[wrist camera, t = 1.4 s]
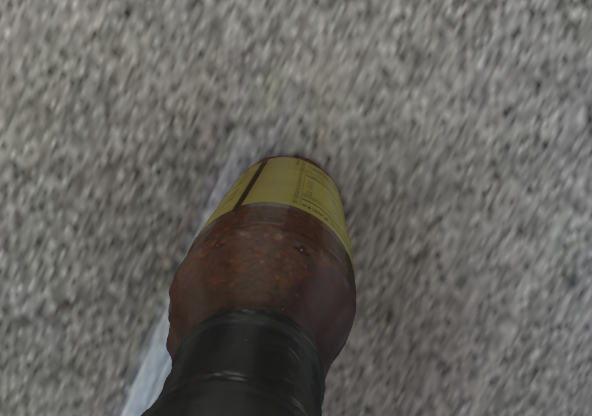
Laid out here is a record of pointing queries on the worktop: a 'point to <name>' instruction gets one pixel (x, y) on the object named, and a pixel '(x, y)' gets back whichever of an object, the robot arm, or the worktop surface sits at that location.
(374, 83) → the worktop surface
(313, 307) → the sauce bottle
